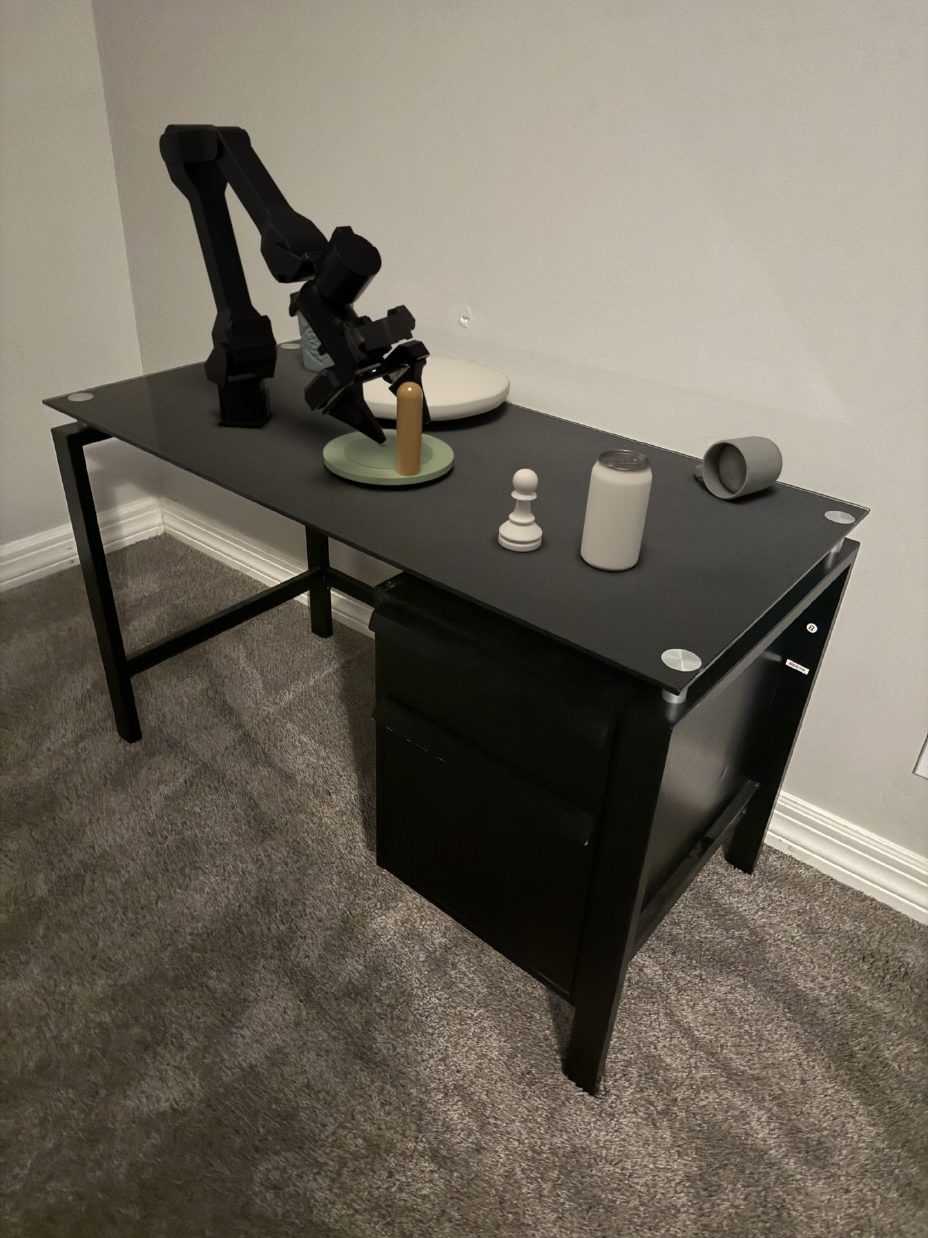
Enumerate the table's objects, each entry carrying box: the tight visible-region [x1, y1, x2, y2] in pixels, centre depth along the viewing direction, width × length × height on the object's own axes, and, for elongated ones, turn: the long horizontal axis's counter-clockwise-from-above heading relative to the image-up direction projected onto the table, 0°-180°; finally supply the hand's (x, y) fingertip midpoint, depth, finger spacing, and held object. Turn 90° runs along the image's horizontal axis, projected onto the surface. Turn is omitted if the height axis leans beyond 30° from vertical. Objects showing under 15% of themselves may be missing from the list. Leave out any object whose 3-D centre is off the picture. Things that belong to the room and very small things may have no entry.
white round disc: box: [363, 355, 511, 422], centre depth 139 cm, size 28×6×27 cm
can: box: [580, 449, 653, 572], centre depth 96 cm, size 6×6×12 cm
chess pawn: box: [497, 468, 543, 553], centre depth 99 cm, size 5×5×9 cm
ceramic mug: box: [694, 435, 784, 500], centre depth 116 cm, size 11×8×8 cm
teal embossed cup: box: [296, 302, 355, 373], centre depth 153 cm, size 10×10×12 cm
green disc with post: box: [322, 382, 455, 486], centre depth 115 cm, size 18×18×13 cm
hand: (406, 432), depth 109 cm, fingers open, 9 cm apart
